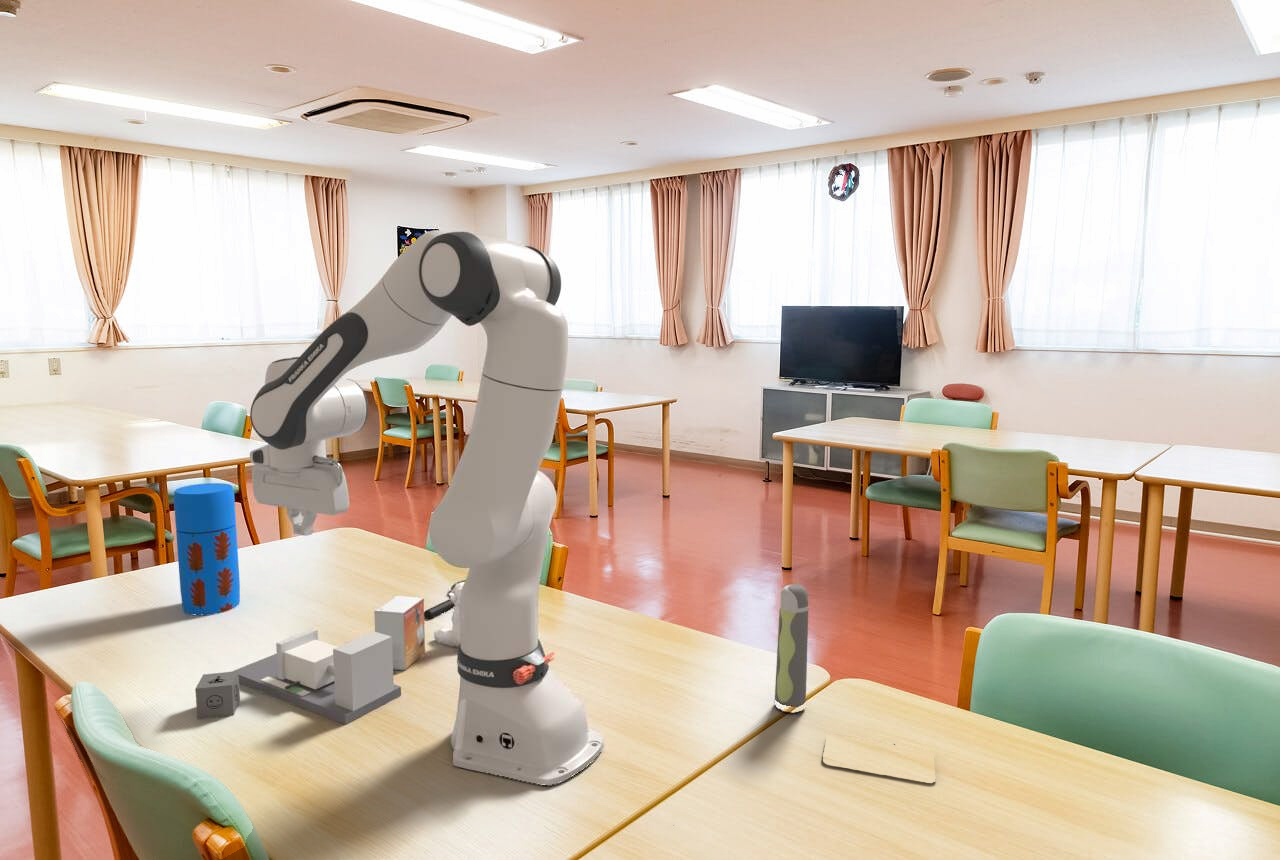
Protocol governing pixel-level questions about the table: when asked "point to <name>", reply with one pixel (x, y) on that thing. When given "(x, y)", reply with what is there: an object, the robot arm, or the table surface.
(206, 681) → the dice cube
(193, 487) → the thermos
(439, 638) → the white creature statuette
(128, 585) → the table surface
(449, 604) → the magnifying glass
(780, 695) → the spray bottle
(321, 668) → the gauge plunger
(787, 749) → the table surface
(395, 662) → the small box
